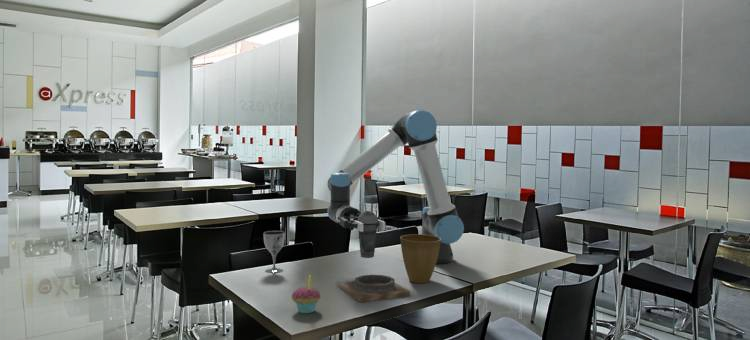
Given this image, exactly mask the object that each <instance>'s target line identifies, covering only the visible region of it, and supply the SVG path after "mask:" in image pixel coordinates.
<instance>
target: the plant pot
mask: <svg viewBox="0 0 750 340" xmlns="http://www.w3.org/2000/svg"><path fill="white" fill-rule="evenodd" d="M399 237H400V247H401V248H400V249H401V253H402V254H401V255H402V258H403V259H402V260H403V263H404V267H405V271H406V274H407V278H408V280H409V282H412V283H416V284H427V283H429V282H430V281H431V279H432V275H433V273H434V271H435V267H436V265H437V264H436V261H437V258H438V253H439V249H440V243H441V238H440V237H437V236H432V235H423V234H422V233H420V234H418V233H417V234H415V233H414V234H405V235H404V234H403V235H401V236H399Z"/></svg>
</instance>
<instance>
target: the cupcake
mask: <svg viewBox="0 0 750 340" xmlns="http://www.w3.org/2000/svg"><path fill="white" fill-rule="evenodd" d="M311 281H312V273H311V272H310V273H309V275H308V280H307V286H302V287H299V288H297V289H295V290H294V291H293V292H292V294H291V300H292V301H293V302H294V303H295V304H296V307H297V310H298V312H299V313H301V314H311V313H313V312H315V310H316V307H317V304H318V302H319V300H320V299H321V294H320V291H319V290H318V289H317V288H314V287H311Z"/></svg>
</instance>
